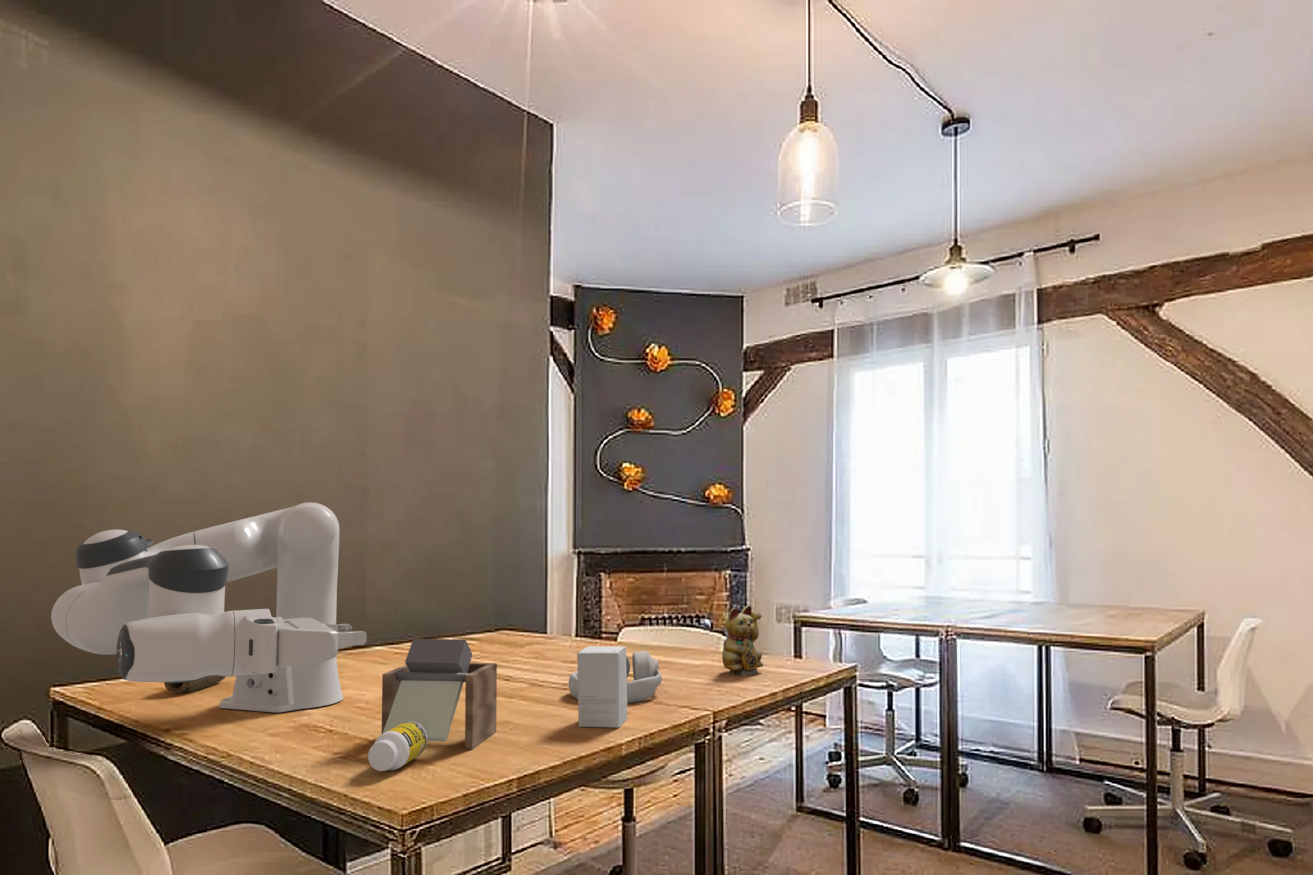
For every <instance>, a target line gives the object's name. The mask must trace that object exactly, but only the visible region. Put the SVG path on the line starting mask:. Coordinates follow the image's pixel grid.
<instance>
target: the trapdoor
mask: <svg viewBox="0 0 1313 875" xmlns="http://www.w3.org/2000/svg"><path fill="white" fill-rule="evenodd" d="M472 657H473V652H472V650H471V648H470V646H469V644H468V641H467V640H466V639H463V638H462V639H460V638H459V639H456V638H453V639H451V638H449V639H448V638H447V639H446V638H445V639H443V638H440V639H439V638H437V639H436V638H434V639H433V638H430V639H429V638H413V639H412V640H411V644H410V647H409V650H408V652H407V656H406V658H405V660H404V664H405V665H407V667H408V669H409V671H410V672H397V673H396V681H401V683H400V686H399V689H398V692H397V694H396V697H395V700H394V703H393V706H392V709H391V711H390V714H389V717H388V720H387V723H386V725H385V728H384V731H383V733H385V732H387V731H389V730H391V729H392V728H394V727H396V726H398V725H400V724H402V723H404V722H407V721H413V722H417V723H419V724H420V725H421V726H422V727H423V728H424V729H425V731H426V734H427V742H429V741H430V742H447V740H448V737H449V733H450V732H451V731H450V730H451V726H452V723H453V721H454V720H453V719H454V716H455V713H456V710H457V706H458V702H459V699H460V696H461V694H462V690H463V686H464V683H466V675H468V674H469V673H467V671H468V668H469V664H470V663H471V661H472Z"/></svg>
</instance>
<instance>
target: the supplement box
mask: <svg viewBox="0 0 1313 875" xmlns="http://www.w3.org/2000/svg"><path fill="white" fill-rule="evenodd" d="M576 655H577V656H576V658H577V670H578V699H577V709H578V710H577V711H578V727H579V728H584V727H585V728H615V729H617V728H620V727H621V726H622V725H623V724H624V723H625V721H627V719H628V703H627V682H628V680H627V679H628V678H627V672H626V655H627V646H597V645H595V646H592V645H591V646H589V645H588V646H586V647H584V648H583V649H581V650H580V651H578V652H577V653H576Z"/></svg>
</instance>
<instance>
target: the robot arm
mask: <svg viewBox="0 0 1313 875" xmlns="http://www.w3.org/2000/svg"><path fill="white" fill-rule="evenodd" d="M339 548H340V523H339V520H338V518H337V516H336V514H335V513H334V512H333V510H331V509H330V508H328V507H327V506H325V505H323V504H321V503H319V502H303V503H299V504H297V505H294V506H290V507H287V508H282V509H278V510H274V511H270V512H266V513H261V514H258V515H255V516H249V517H247V518H246V517H244V518H242V519H237V520H234V521H230V522H227V523H221V524H218V525H214V526H210V527H206V528H202V529H199V530H195V531H191V532H187V533H184V534H181V535H177V536H175V537H171V538H169V539H166V540H163V541H161V542H159V543H156V544H155V541H154V540H153V539H152V538H145V537H144V535H142V534H141V533H139V532H138V531H137V532H136V531H135V530H132V529H108V530H103V531H100V532H97V533H95V534H94V535H92V536H90V537H88V538H86V539H85V540H84V541H82V542H81V543H80V544H79V545H78V546H77V547H76V549H75V564H76V565H75V566H76V568H77V569H79V577H80V582H81V584H80V585H76V586H74V587H71V588H70V589H68V590H66V591H65V592H64V593H63V594H61V595H60V596H59V597H58V598H57V600H56V601H55V603H54V605H53V607H52V609H51V614H50V617H51V624H52V627H53V629H54V631H55V632H56V633H57V634H58V635H59V637H61V639H63V640H64V641H65V642H67V643H69V645H71V646H73V647H76V648H77V649H79V650H83V651H85V652H88V653H92V654H96V655H104V656H105V655H116V662H117V669H118V670H117V671H118V673H119V675H120V676H121V678H122V679H123V680H124V681H128V682H138V683H139V682H141V683H164V682H166V683H184V682H194V681H200V680H202V679H203V678H205V677H206V676H210V675H220V676H225V677H226V678H230V677H236V678H235V681H234V684H233V685H234V686H233V689H232V695H230V696H227V697H226V698H223V699H221V701H220V702H219V707H218V708H220V709H232V710H241V711H251V712H253V711H255V712H265V713H284V712H289V711H290V712H291V711H297V710H302V709H303V710H305V709H311V708H317V707H319V708H320V707H323V706H329V705H333V704H336V703H338V702H341V701H342V700H344V694H343V691H342V688H341V683H340V677H339V669H338V668H339V667H338V660H337V655H338V652H339V650H340V649H346V648H351V647H353V646H364V645H365V644H367V638H368V637H367V634H368V633H367V632H366V631H364V630H353V626H352V624H349V623H340V624H337V603H338V602H337V600H338V599H337V598H338V596H337V595H338V590H337V589H338V578H339V577H338V575H339V574H338V573H339V554H340V553H339V552H340V549H339ZM276 568H277V572H276V573H277V574H276V575H277V576H276V578H277V579H276V615H275V616H276V617H273V616H272V613H271V611H270V609H269V608H257V609H256V608H255V609H254V608H253V609H237V610H228V611H225V600H226V596H225V595H226V585H227V583H228V582H232V581H236V580H238V579H239V580H240V579H243V578H246V577H251V576H253V575H254V576H255V575H257V574H261V573H263V572H267V571H269V570H273V569H276Z"/></svg>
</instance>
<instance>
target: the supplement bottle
mask: <svg viewBox="0 0 1313 875" xmlns="http://www.w3.org/2000/svg"><path fill="white" fill-rule="evenodd" d="M427 746H428V741H427V734H426V731H425V729H424V728H423V727H422V726H421V725H420V724H419V723H417V722H413V721H407V722H404V723H402V724H400V725H398V726H396V727H394V728H392V729H391V730H389V731H387V732H385V733H383V734H382V733H381V734H380V735H379V736H378V737H377V738H376V740H375V741H374V744H372V746H371V747H369V748H370V749H369V750H368V755H367V759H368V762H369V765H370V766H371V767H372V768H373V769H374V770H376V771H379V772H384V771H396V770H397V769H398V770H399V769H400V768H402V767H404V766H405V765H406V764H408V763H409V762H411V761H413V760H414V759H415V758H417V757H419V756H420V755H421V754H422V753H424V751H425V749H426V747H427Z"/></svg>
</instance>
